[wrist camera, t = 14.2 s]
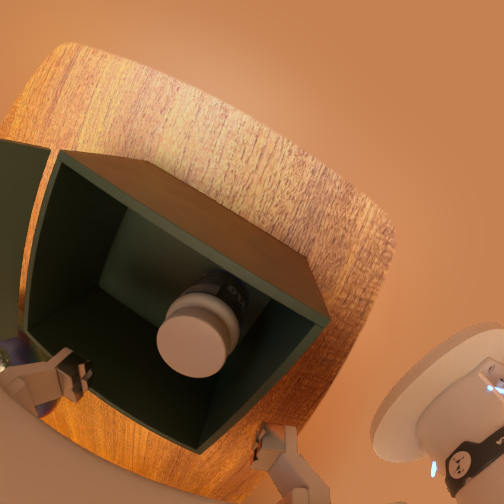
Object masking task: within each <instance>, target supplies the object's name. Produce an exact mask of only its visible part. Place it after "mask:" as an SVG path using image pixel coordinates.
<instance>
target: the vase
mask: <svg viewBox="0 0 504 504" xmlns="http://www.w3.org/2000/svg"><path fill="white" fill-rule="evenodd" d="M23 321H24V310H23V309H22V308H20V307H18V336H17V337H13V338H9V339H4V340H0V373H1V372H2V371H3V370H4V369H6V368H7V367H10V366H18V365H25V364H31V363H38V362H44V361H45V362H46V363H47V362H48V361H49V360H50V359H51V358H50V357H48V356H47V355H46V354H45V353H44V352H43V351H42V350H41V349H40V348H39V347H38V346H37V345H36V344H35V343H34V342H33V341H32V340H31V339H30V338H29V337H28V336H27V335H26V334H25V333H24V331H23ZM60 399H61V397H60V398H57V399H54V400H51V401H48V402H45V403H42V404H39V405H36V406H34V407H35V409H36V411H37V414H38V418H43V417H45V416H47V415H49V414H50V413H51V412H52V411H53V410H54V409H55V408H56V406H57V405H58V403H59V401H60Z"/></svg>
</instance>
